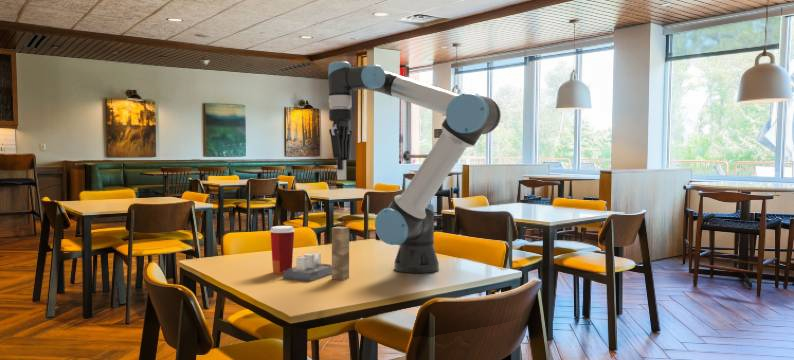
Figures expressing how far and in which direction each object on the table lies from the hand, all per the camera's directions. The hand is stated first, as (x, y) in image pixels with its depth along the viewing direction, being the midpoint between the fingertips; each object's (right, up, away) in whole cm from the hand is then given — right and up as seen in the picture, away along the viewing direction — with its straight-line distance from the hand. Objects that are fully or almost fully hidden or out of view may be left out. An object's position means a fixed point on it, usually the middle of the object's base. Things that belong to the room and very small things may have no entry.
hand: (341, 179), depth 197 cm
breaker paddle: (-10, -28, -9) cm, 31 cm away
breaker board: (-10, -31, -9) cm, 34 cm away
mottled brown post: (+1, -31, -12) cm, 33 cm away
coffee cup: (-19, -31, -3) cm, 37 cm away
